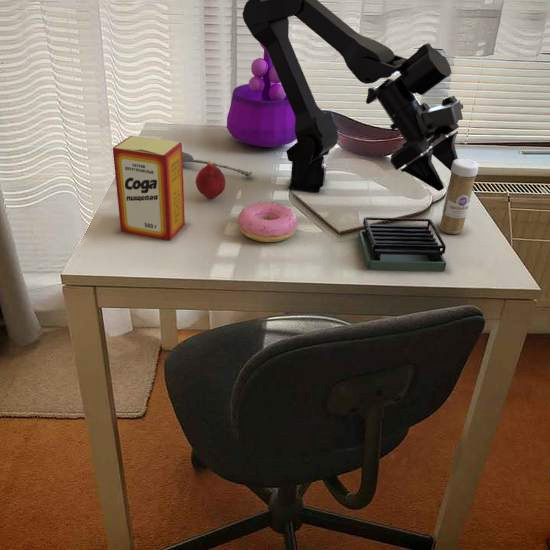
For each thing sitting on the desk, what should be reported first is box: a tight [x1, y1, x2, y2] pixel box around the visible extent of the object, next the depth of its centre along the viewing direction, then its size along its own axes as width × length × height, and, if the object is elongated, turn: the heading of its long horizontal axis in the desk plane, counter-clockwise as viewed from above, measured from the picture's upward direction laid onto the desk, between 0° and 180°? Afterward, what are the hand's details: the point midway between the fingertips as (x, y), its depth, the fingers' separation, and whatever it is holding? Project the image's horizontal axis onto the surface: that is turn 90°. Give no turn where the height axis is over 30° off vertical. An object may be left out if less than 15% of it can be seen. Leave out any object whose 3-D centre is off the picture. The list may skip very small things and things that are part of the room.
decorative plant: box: [226, 43, 297, 148], centre depth 143 cm, size 19×18×30 cm
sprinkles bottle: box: [438, 158, 480, 235], centre depth 111 cm, size 5×5×14 cm
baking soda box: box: [112, 135, 186, 241], centre depth 106 cm, size 10×6×16 cm
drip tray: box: [357, 229, 447, 272], centre depth 106 cm, size 13×11×2 cm
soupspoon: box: [182, 151, 253, 180], centre depth 134 cm, size 22×3×7 cm
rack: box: [362, 216, 447, 262], centre depth 105 cm, size 12×10×4 cm
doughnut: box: [236, 201, 299, 243], centre depth 110 cm, size 11×11×4 cm
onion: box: [195, 160, 227, 201], centre depth 119 cm, size 6×6×8 cm
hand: (450, 181), depth 111 cm, fingers open, 9 cm apart
